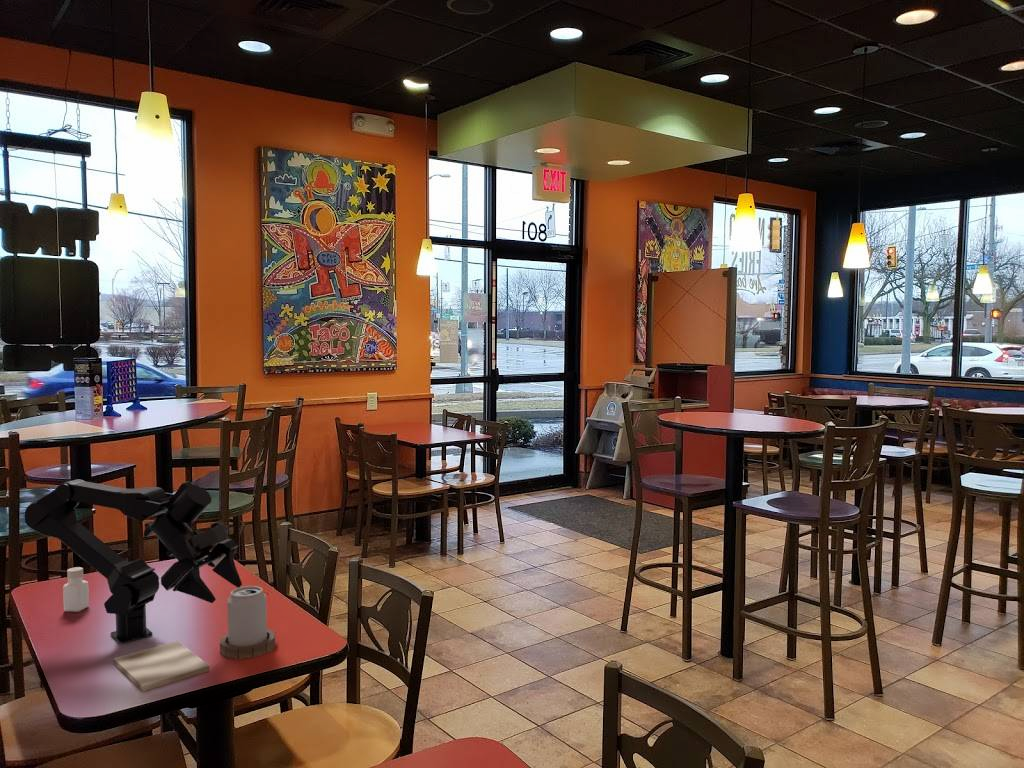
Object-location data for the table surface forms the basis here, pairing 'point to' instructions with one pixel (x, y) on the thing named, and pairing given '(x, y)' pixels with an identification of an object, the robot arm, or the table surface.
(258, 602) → the can
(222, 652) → the walnut collar
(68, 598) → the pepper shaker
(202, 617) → the table surface
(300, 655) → the table surface
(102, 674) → the table surface
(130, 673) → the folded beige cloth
